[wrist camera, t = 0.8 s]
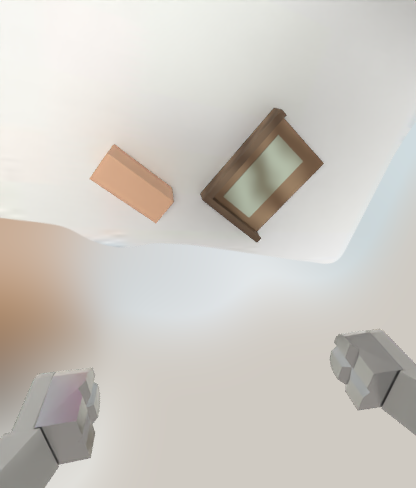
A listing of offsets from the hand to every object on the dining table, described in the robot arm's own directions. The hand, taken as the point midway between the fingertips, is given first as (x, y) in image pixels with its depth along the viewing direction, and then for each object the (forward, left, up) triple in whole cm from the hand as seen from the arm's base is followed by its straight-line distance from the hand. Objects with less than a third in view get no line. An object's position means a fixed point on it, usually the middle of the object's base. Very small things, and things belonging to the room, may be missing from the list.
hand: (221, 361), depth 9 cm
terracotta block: (+7, -2, -36) cm, 36 cm away
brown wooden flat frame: (-5, +13, -36) cm, 38 cm away
